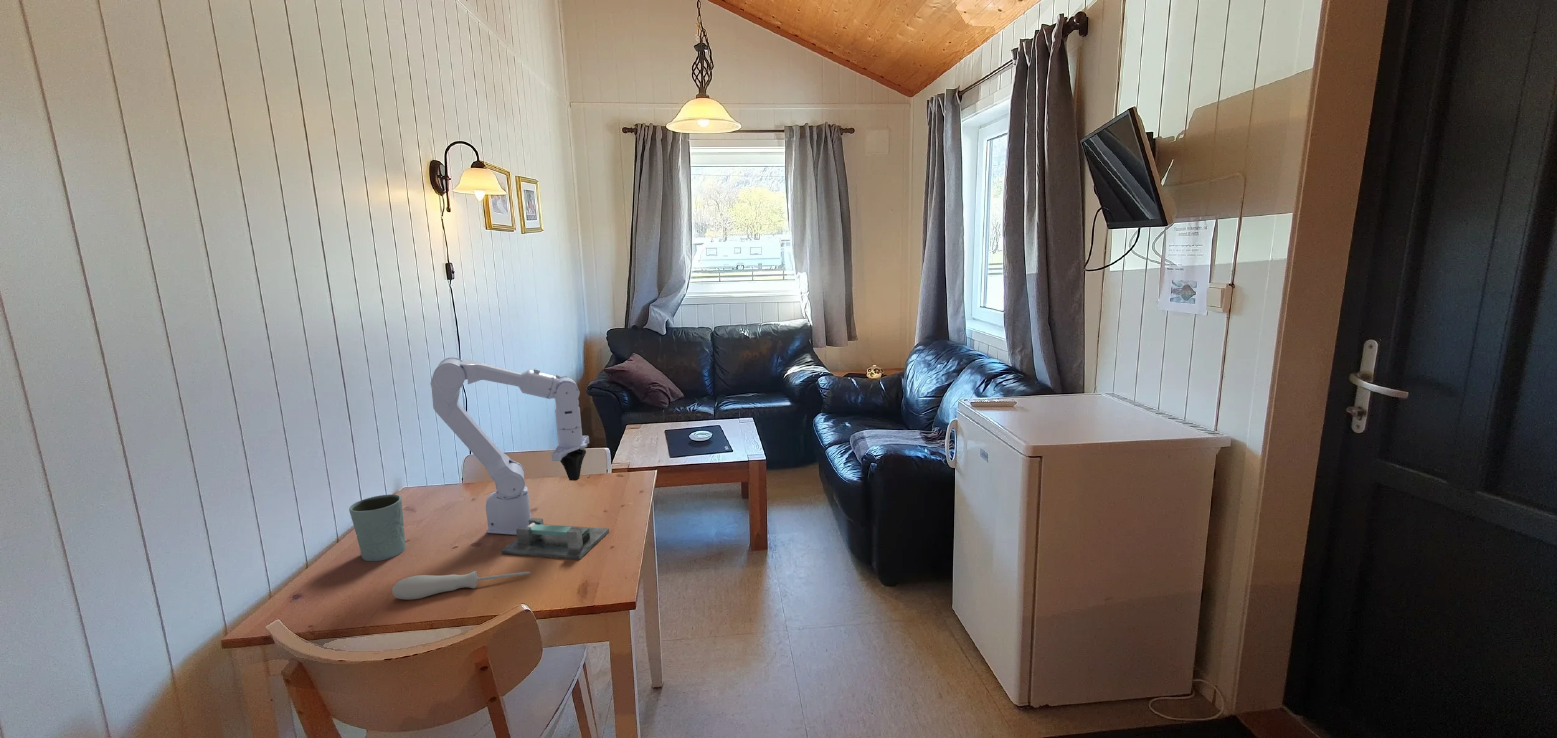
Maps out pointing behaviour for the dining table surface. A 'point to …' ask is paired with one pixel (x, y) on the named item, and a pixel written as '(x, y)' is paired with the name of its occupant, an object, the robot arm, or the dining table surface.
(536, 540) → the plate
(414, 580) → the screwdriver
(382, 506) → the green cup
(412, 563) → the dining table surface
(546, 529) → the teal rectangular bar
